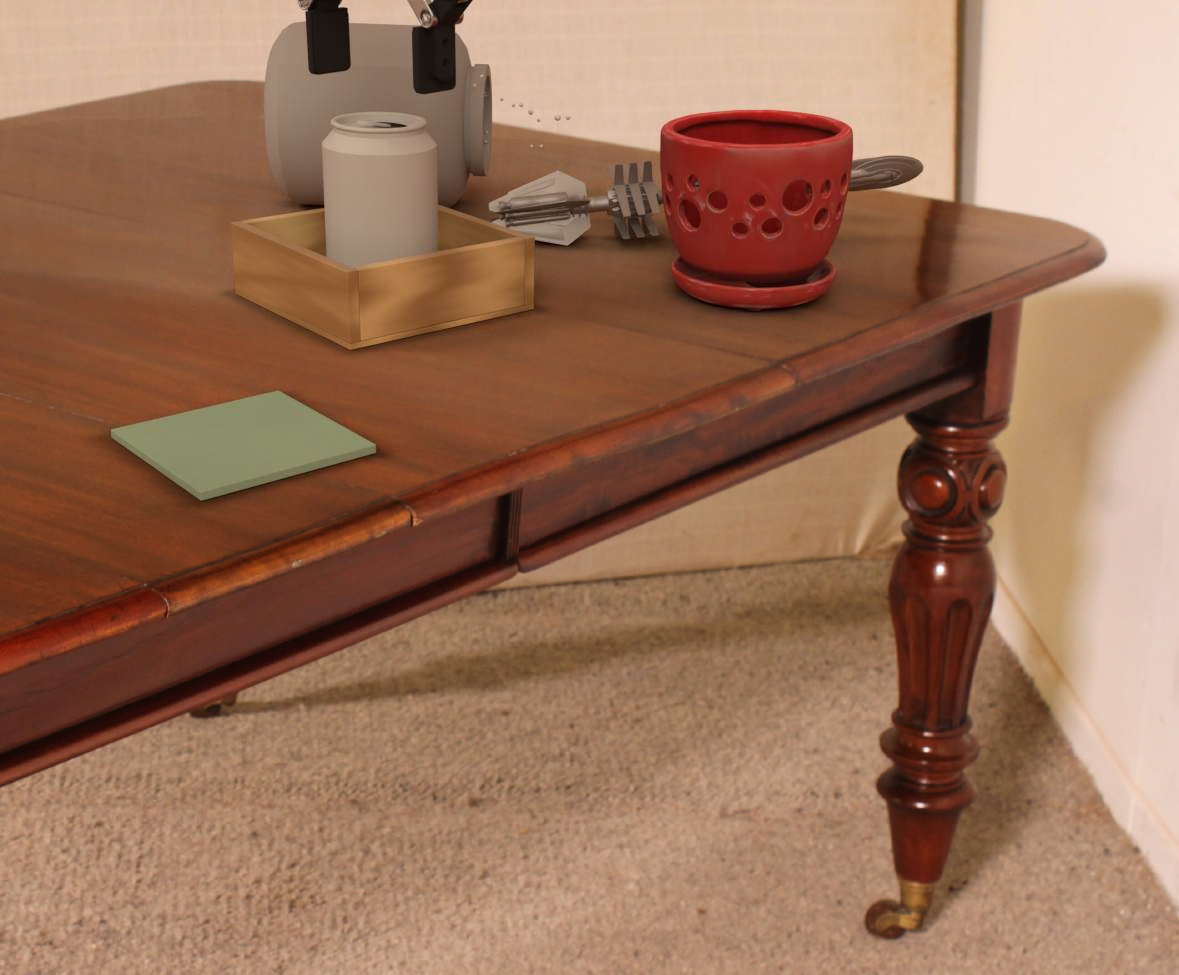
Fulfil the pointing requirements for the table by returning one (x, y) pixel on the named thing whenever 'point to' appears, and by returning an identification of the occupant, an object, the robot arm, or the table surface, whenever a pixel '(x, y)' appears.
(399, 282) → the wooden box
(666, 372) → the table surface
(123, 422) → the table surface
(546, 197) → the spaceship
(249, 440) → the mat
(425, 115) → the jar
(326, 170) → the can
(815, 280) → the flower pot
